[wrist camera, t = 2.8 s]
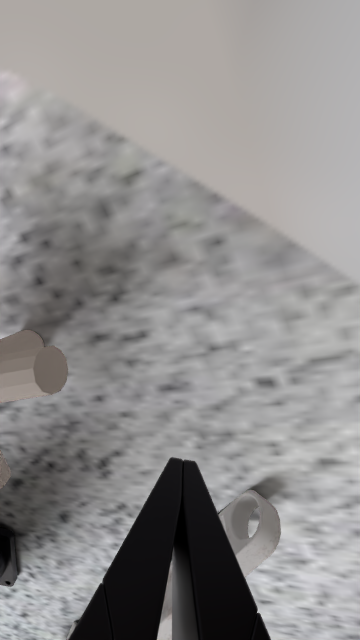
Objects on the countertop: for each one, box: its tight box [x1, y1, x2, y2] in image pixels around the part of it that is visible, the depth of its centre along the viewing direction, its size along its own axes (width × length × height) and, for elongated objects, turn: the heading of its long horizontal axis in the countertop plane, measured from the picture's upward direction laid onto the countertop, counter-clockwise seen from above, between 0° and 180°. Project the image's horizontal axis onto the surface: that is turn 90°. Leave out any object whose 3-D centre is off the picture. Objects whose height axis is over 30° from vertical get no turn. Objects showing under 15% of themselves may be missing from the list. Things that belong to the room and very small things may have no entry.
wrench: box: [66, 490, 281, 640], centre depth 16 cm, size 8×2×30 cm
